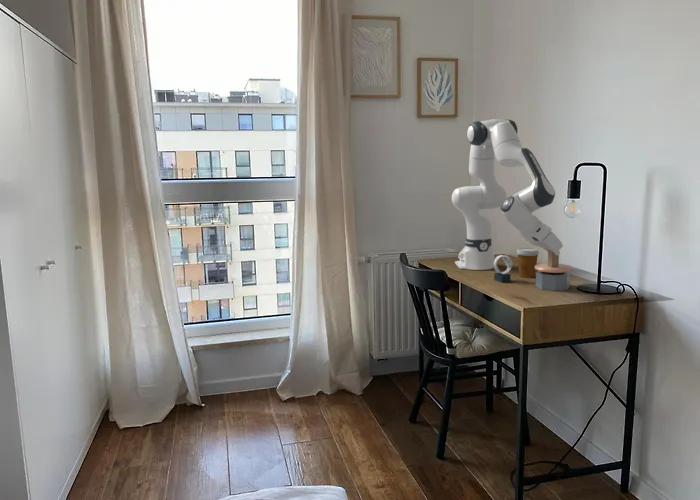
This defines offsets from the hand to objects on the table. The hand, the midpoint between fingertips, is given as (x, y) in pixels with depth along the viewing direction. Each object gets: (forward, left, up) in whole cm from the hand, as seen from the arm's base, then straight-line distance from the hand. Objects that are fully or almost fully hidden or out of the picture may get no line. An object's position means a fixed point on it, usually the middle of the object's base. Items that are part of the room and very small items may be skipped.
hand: (554, 253), depth 226 cm
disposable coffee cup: (-22, 0, -14) cm, 26 cm away
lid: (0, -1, -6) cm, 6 cm away
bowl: (0, -1, -14) cm, 14 cm away
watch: (-17, -14, -14) cm, 26 cm away
